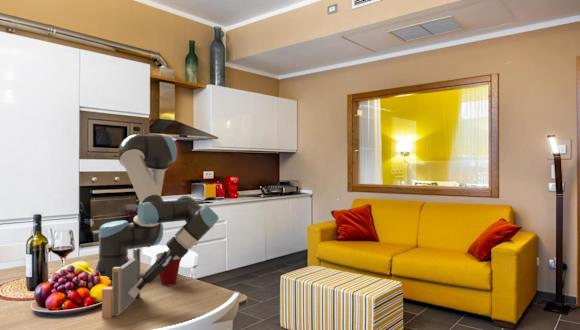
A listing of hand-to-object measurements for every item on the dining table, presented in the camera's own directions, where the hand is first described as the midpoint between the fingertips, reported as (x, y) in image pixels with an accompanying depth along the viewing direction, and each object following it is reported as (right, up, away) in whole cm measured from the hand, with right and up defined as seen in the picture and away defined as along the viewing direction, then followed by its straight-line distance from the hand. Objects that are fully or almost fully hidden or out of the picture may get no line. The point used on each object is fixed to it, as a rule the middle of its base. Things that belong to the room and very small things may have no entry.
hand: (131, 294), depth 136 cm
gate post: (-3, -5, +12) cm, 13 cm away
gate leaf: (-2, -4, +1) cm, 5 cm away
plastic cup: (+4, -5, +30) cm, 30 cm away
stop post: (-5, -5, -5) cm, 9 cm away
